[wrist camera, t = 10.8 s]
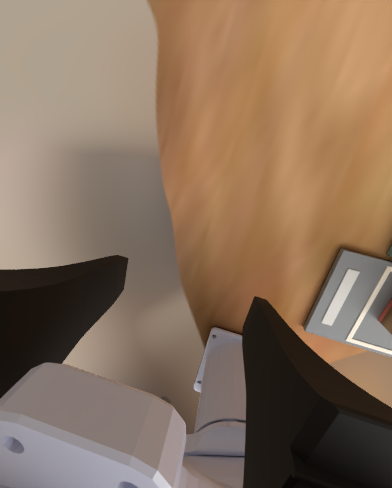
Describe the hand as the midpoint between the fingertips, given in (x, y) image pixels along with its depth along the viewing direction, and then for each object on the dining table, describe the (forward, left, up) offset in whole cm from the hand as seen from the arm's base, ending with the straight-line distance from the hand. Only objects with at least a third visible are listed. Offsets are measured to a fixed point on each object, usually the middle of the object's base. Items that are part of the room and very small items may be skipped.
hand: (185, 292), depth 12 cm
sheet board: (-2, -19, -11) cm, 22 cm away
